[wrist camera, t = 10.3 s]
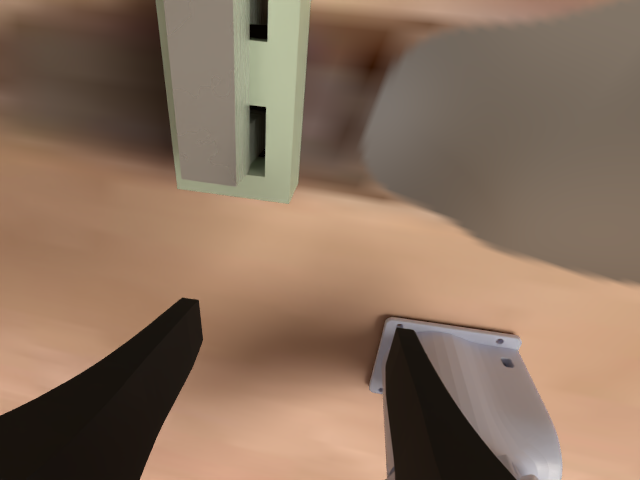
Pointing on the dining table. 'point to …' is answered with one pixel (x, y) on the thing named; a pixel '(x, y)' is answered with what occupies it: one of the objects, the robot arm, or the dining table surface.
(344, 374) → the dining table surface
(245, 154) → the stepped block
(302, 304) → the dining table surface
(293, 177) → the slotted block
